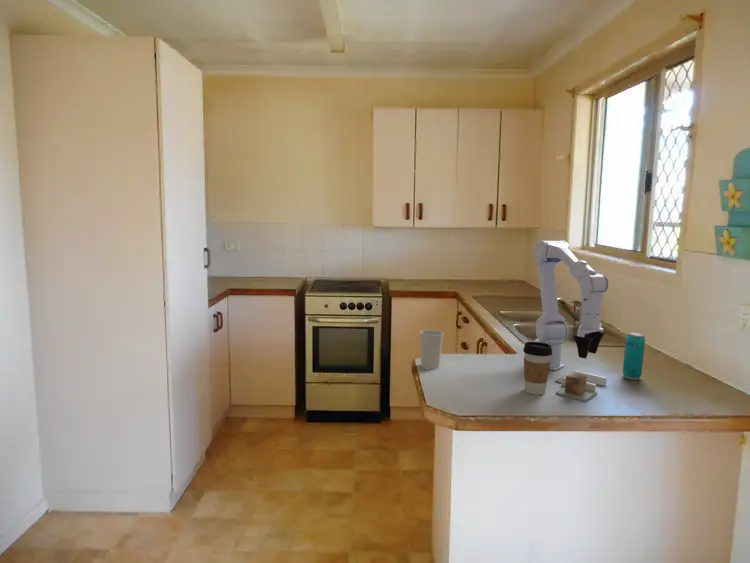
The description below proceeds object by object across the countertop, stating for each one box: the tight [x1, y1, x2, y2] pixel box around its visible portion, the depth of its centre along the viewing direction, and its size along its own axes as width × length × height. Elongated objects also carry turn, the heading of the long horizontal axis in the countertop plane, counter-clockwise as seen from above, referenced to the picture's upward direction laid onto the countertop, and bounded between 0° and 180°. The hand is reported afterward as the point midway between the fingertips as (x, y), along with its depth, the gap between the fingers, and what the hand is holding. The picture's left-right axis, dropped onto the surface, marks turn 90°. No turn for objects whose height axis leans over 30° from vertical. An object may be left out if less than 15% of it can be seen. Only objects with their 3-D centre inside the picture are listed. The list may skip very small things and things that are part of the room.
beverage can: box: [622, 331, 646, 381], centre depth 178 cm, size 6×6×15 cm
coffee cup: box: [522, 341, 552, 396], centre depth 163 cm, size 8×8×15 cm
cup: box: [419, 329, 444, 370], centre depth 185 cm, size 8×8×12 cm
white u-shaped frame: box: [554, 370, 607, 392], centre depth 172 cm, size 13×10×2 cm
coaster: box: [555, 386, 598, 403], centre depth 163 cm, size 9×9×1 cm
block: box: [564, 372, 587, 396], centre depth 163 cm, size 4×4×5 cm
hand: (587, 355), depth 169 cm, fingers open, 7 cm apart
